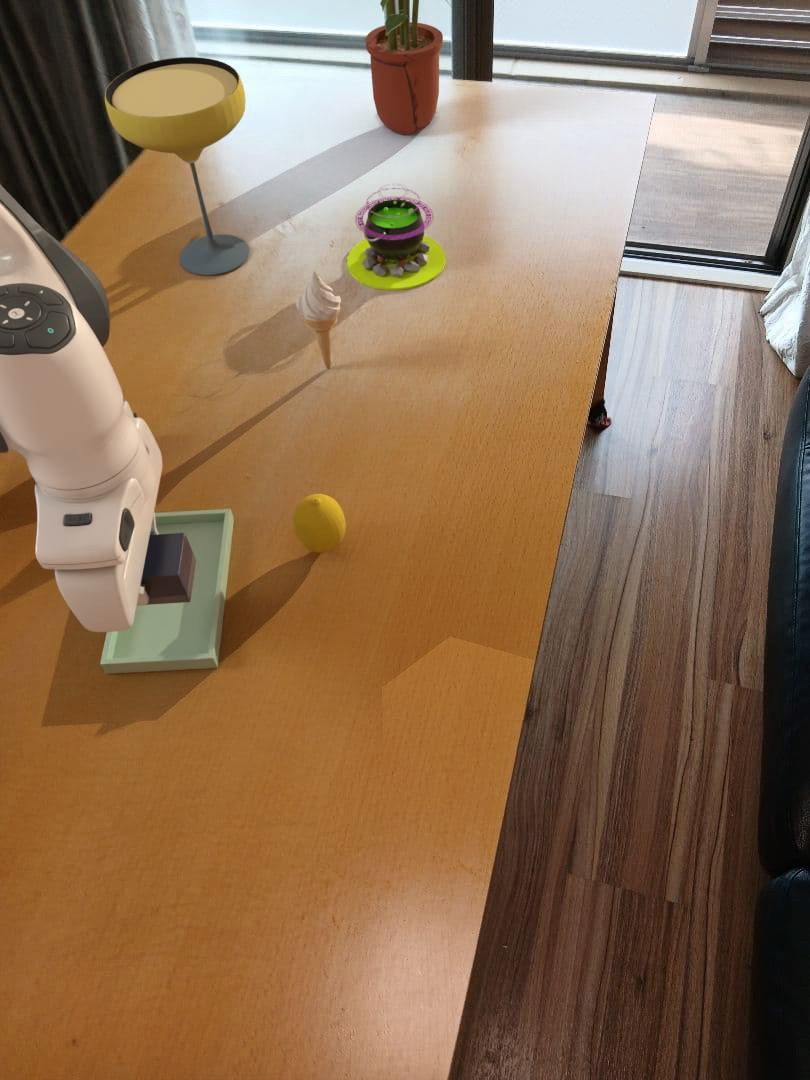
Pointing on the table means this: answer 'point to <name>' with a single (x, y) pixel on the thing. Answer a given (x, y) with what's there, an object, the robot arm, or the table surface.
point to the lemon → (319, 523)
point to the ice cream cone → (320, 312)
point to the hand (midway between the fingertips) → (146, 571)
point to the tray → (180, 605)
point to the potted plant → (404, 68)
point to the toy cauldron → (395, 246)
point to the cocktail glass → (183, 132)
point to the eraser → (169, 569)
